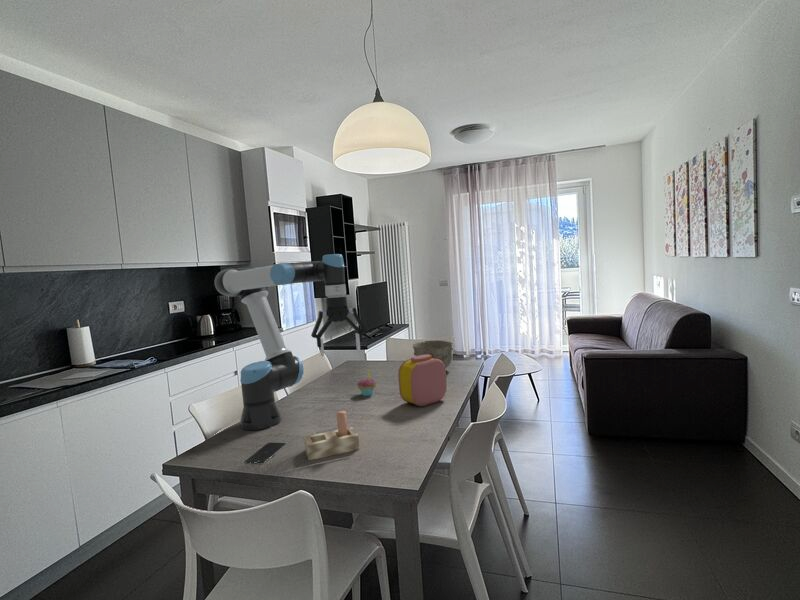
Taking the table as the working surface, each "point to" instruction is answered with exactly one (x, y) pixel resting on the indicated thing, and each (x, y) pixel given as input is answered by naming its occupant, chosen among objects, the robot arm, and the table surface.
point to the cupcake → (367, 386)
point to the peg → (342, 423)
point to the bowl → (435, 350)
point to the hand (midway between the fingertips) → (340, 353)
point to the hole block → (330, 443)
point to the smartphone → (265, 453)
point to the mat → (327, 430)
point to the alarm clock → (422, 380)
